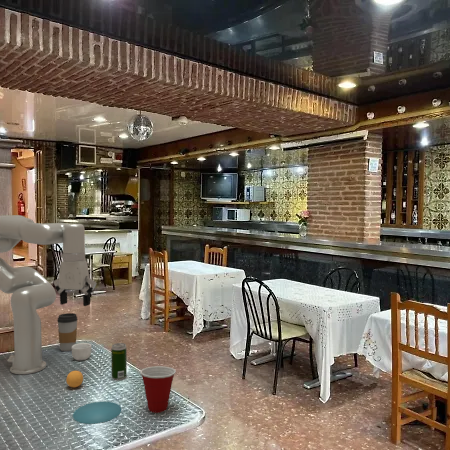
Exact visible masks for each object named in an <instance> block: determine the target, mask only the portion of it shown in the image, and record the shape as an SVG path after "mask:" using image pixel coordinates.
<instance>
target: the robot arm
mask: <svg viewBox="0 0 450 450" xmlns="http://www.w3.org/2000/svg"><path fill="white" fill-rule="evenodd" d="M21 241H23V242H24V243H28V244H34V245H42V246H43V245H45V246H46V245H54V244H56V245H57V244H62V254H61V255H60V258H61V259H62V261H61V262H60V265H59V266H60V267H59V274H58V278H57V279H55V280H53V284H54V286H55V288H54V287H53V285H52V284H51V282H49V281H48V280H47V279H46V278H45V277H44V276H43V275H42V274H41V273H40V272H39V271H38V270H36V269H35V268H33V267H29V266H21V267H13V266H11V265H10V264H9V263H8V262H7V261H6V260H5V259H3V258H2V257H0V291H1V292H2V293H4V294H11V296H10V299H9V300H10V301H9V302H10V307H11V312H12V315H13V316H12V318H13V341H14V342H13V343H14V345H13V346H14V347H13V348H14V353H13V355H12V354H11V355H9V358H7V362H8V363H12V365H11V366H10V368H9V369H10V370H9V371H10V373H12V374H15V375H29V374H35V373H38V372H41V371H43V370H44V369H46V367H47V362H46V361H44V360H43V357H42V356H43V353H42V351H43V349H42V348H43V347H42V320H41V317H40V315H39V313H38V311H37V310H40V309H43V308H47V307H49V306H51V305H52V304H54V303H55V301H56V298H57V293H58V294H59V304H60V305H61V306H62V305H65V304H68V292H67V290H68V291H69V290H70V291H71V290H72V291H81V292H82V293H83V295H82V304H83V307H88V306H90V305H91V294H92V293H93V291H94V290H95V287H97V282H96V281H95V280H94V279H92V278H90V273H89V272H90V271H89V266H88V262H87V261H86V246H85V245H86V243H85V241H86V235H85V226H84V224H82V223H67V222H66V223H65V222H54V223H53V222H51V223H38V222H35V221H34V220H33V219H31V218H29V217H26V216H24V215H20V214H19V215H18V214H16V215H13V214H12V215H11V214H10V215H9V214H7V215H0V254H1V253H2V254H3V253H7V252H9V251H11V250H12V249H13V248H14V247H15V246H17V244H19V242H21ZM56 290H57V292H56Z"/></svg>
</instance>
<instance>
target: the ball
mask: <svg viewBox="0 0 450 450" xmlns="http://www.w3.org/2000/svg"><path fill="white" fill-rule="evenodd" d="M65 381H66V384H67V386H69V387H70V388H78V387H80V386H81V385H82V383H83V381H84V375H83V373H82V372H81V371H80V370H72V371H70V372H69V373H68V374H67V376H66V379H65Z"/></svg>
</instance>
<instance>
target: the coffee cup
mask: <svg viewBox="0 0 450 450" xmlns="http://www.w3.org/2000/svg"><path fill="white" fill-rule="evenodd" d="M57 328H58V329H57V332H58V342H59V349H60V350H61V351H62V352H72V346H73V345H75V344H77V334H78V333H77V331H78V329H77V328H78V316H77V313H72V312H69V313H68V312H65V313H61V314H58V317H57Z"/></svg>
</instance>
